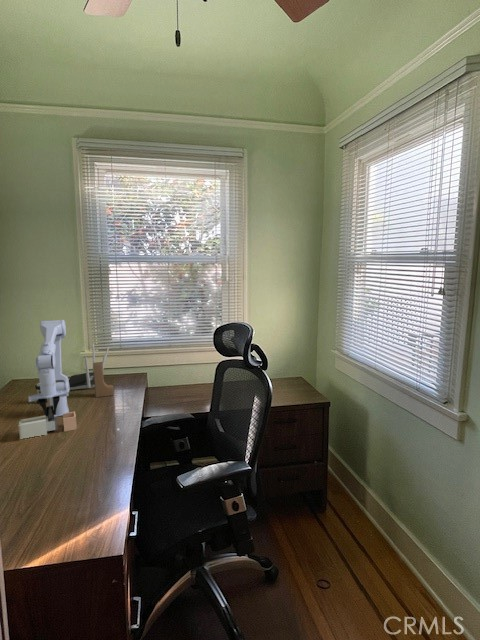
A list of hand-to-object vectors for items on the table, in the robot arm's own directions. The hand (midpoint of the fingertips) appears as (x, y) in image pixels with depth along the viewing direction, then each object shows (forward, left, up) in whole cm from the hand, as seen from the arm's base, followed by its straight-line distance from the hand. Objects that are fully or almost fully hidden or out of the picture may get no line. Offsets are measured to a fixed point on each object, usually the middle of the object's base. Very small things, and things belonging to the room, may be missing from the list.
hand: (50, 414), depth 149 cm
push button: (-39, -5, -7) cm, 40 cm away
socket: (0, +7, -7) cm, 10 cm away
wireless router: (-60, +20, -8) cm, 64 cm away
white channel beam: (0, -7, -7) cm, 10 cm away
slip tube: (0, -4, -6) cm, 7 cm away
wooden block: (-34, +25, -7) cm, 43 cm away
